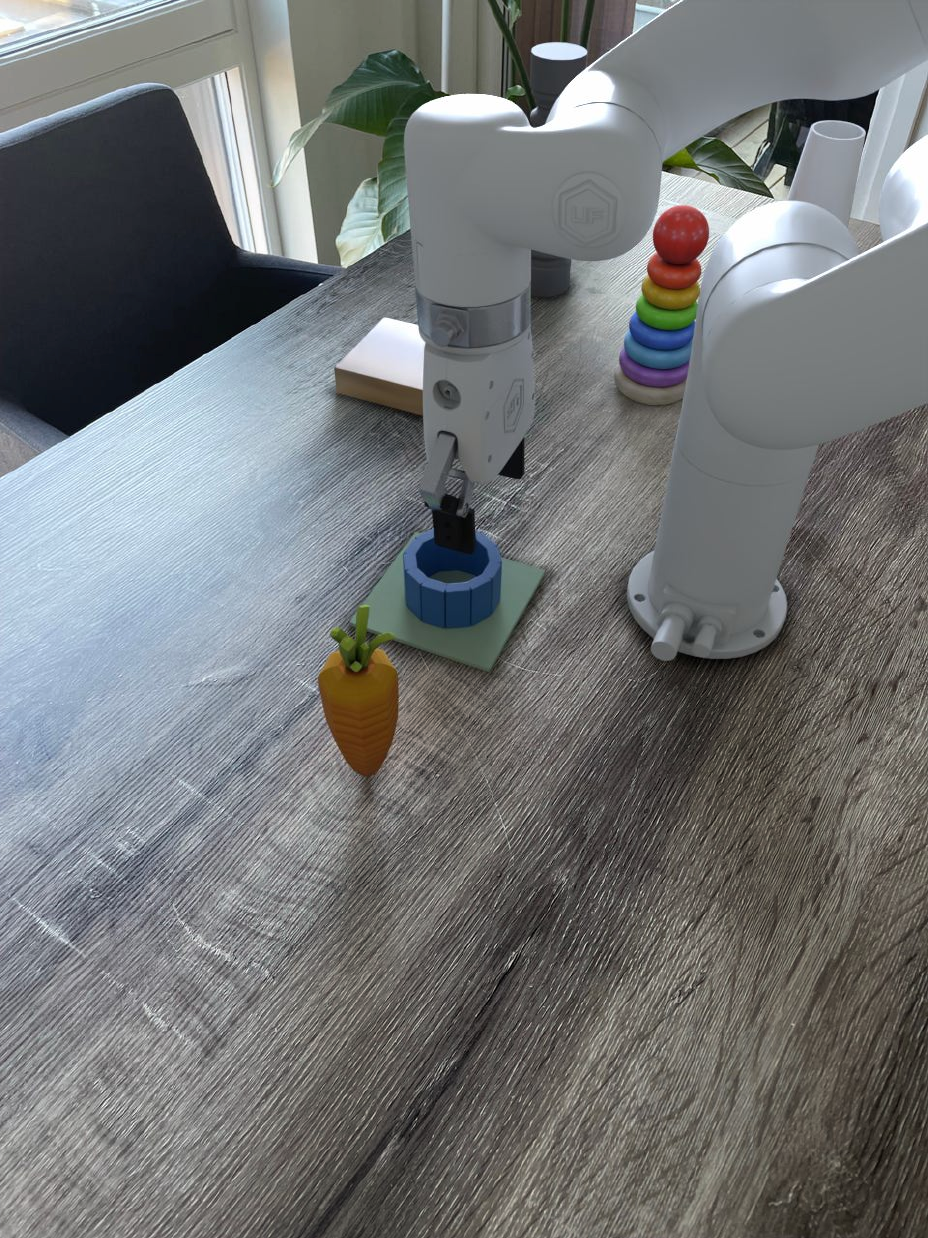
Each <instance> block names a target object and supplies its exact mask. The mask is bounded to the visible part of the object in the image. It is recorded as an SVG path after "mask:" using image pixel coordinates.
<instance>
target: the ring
mask: <svg viewBox="0 0 928 1238" xmlns="http://www.w3.org/2000/svg"><path fill="white" fill-rule="evenodd" d="M475 533H476V549H475V551H474V552H473V554H466V553H462V552H458V551H455V550H451V549H447V548H443V547H439V546H437V545H436V544H435V542H434V530H433V528H431V529H429V530H427V531H425V532H423V533H422V534H421V535H419V536H417V537H415V539H413V540H412V541H411V543H410V544H409V546H408V547H407V549H406V550H405V551H404V554H403V567H404V587H405V598H406V606H407V607H408V609H409V610H410V611H411V612H412V613H413V614H414V615H415V616H416V617H417V618H418V619H419V620H420V621H422V622H424V623H427V624H430V625H433V626H436V627H440V628H443V629H444V628H445V627H446V629H451V628H462V627H470V625H471V626H473V625H475V624H477V623H479V622H481V621H483V620H484V619H486V618H488V617H490V615H492V614H493V612H494V610H495V608H496V607H497V605H498V603H499V601H500V597H501V575H502V560H501V557H502V556H501V552H500V547H499V546H498V544H497V543H495V542H494V541H493V540H492V539H491V538H489V536H487V535H486V534H485V533H484V532H482V531H478V530H475ZM454 570H459V571H462V572H466V573H469V574H472V575H475V576H476V578H474V579H472V580H470V581H468V582H464V583H452V584H446V583H443V582H439V581H436V580H433V579H429V578H428V577H430V576H432V575H434V574H436V573H438V572H441V571H454Z"/></svg>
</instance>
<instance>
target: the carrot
mask: <svg viewBox="0 0 928 1238" xmlns="http://www.w3.org/2000/svg"><path fill="white" fill-rule="evenodd" d="M361 605H362V604H361ZM361 605H358V606H357V610H356V612H357V616H356V628H355V637H354V638H352V637H351V636H349V635H348V634H347V633H346V631H344V630H343V629H342V628H341V627H339V626H336V627H333V628H332V629H331V630H330V633H329V637H330V638H332V640H334V641H335V642H337V643H338V650H337V651H334V652H331V653H330V654H329V655H328V658H326V661H325V663H324V665H323V666H322V669H320V670H321V671H320V672H319V673H318V676H317V677H318V678H317V685H318V690H319V697H320V700H321V701H320V702H321V705H322V709H323V713H324V714H323V715H324V718H325V721H326V725H327V726H328V729H329V731H330V734H331V736H332V737H333V741H334V742H335V744H336V747H337V749H338V750H339V751H340V753H341V756H342V757H343V759H344V761H345V762H346V764H347V765H348V766H349V767H350V768H351V770H353V771H354V772H355V773H357V774H358V775H360V776H362V777H365V778H369V777H372V776H374V775H376V774H377V773H378V771H380V769H381V768H382V766H383V764H384V762H385V761H386V758H387V756H388V754H389V752H390V750H391V747H392V744H393V742H394V737H395V734H396V729H397V725H398V721H399V711H400V709H399V707H400V686H399V685H400V683H399V682H400V681H399V673H398V671H397V670H396V668H395V666H394V665H393V663H392V661H391V660H390V659H389V657H388V655H387V653H386V652H385V651H384V649H380V648H379V647H380V646H381V645H383V644H384V643H388V642H391V641H394V640H393V639H395V636H394V634H393V633H392V632H387V633H383V634H381V635H376V636H375V637H374V638H373V639H372V640H371V641H370V642H369V643H366V637H367V624H368V618H369V606H368V605H362V606H361ZM354 639H355V640H354Z"/></svg>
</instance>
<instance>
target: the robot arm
mask: <svg viewBox="0 0 928 1238" xmlns="http://www.w3.org/2000/svg"><path fill="white" fill-rule="evenodd" d="M926 61H928V0H679V1H678V2H676V3H675V4H673V5H672V6H670V7H669V8H667V9H666V10H664V11H662V12H661V13H660V14H658V15H657V16H656V17H655V18H653V19H652V20H650V21H649V22H647V23H646V24H644V25H643V26H641V28H639V29H637V30H636V31H635V32H634V33H632V34H630V36H628V37H627V38H625V39H624V40H622V41H621V42H620V43H618V44H617V45H616V46H615V47H613V48H612V49H610V50H609V51H607V52H606V53H604V54H603V55H602V56H601V57H599V58H598V59H597V60H596V61H594V62H592V63H591V64H590V65H589V66H588V67H586V69H585V70H584V71H583V72H581V73H580V74H579V75H578V76H577V77H576V78H575V79H574V80H573V81H572V82H571V83H570V84H569V85H568V86H567V87H566V88H565V89H564V91H563V92H562V93H561V94H560V96H559V97H558V98H557V100H556V101H555V103H554V105H553V107H552V109H551V111H550V114H549V116H548V118H547V121H546V123H545V125H544V126H541V127H538V128H535V127H533V126H532V125H531V124H530V120H529V119H528V117H527V115H526V113H525V112H524V111H523V109H522V108H521V107H520V106H518V105H517V104H515V102H513V101H512V100H508V99H507V98H503V97H499V96H495V95H489V94H480V93H479V94H478V93H466V94H464V93H463V94H454V95H449V96H444V97H443V96H442V97H440V98H436V99H433V100H430V101H429V102H426V103H424V104H422V105H421V106H419V107H418V108H417V109H416V110H415V111H414V112H413V113H412V114H411V115H410V117H409V118H408V120H407V122H406V124H405V129H404V134H403V153H404V164H405V165H404V166H405V179H406V190H407V202H408V203H407V204H408V217H409V229H410V241H411V252H412V253H411V254H412V263H413V275H414V276H413V277H414V291H415V301H416V313H417V325H418V329H419V334H420V336H421V338H422V339H423V340H424V342H426V344H425V347H424V364H423V416H422V420H423V421H422V422H423V423H422V424H423V438H424V439H423V441H424V450H425V458H426V460H427V465H426V467H425V469H424V472H423V474H422V477H421V479H420V482H419V485H418V493H419V494H420V496H421V498H422V500H423V501H424V502H423V503H424V506H425V507H426V508H428V509H429V510H431V517H432V529H433V530H434V542H435V544H436V545H437V546H439V547H443V548H447V549H451V550H455V551H458V552H462V553H466V554H473V552H474V551H475V549H476V533H475V531H476V513H475V511H476V509H474V508H471V503H472V498H473V494H474V488H475V485H476V484H479V485H481V486H485V485H488V484H489V483H491V482H493V480H495V479H496V478H497V476H501V477H505V478H509V479H514V480H521V479H522V478H523V476H524V475H525V471H526V470H525V465H526V464H525V458H526V457H525V455H526V453H525V451H526V450H525V445H526V443H525V441H526V440H525V436H526V435H527V433H528V431H529V430H530V428H531V426H532V424H533V421H534V418H535V414H536V394H535V393H536V391H535V368H534V365H535V364H534V350H533V349H534V348H533V337H532V330H531V324H532V323H531V322H532V321H531V319H532V318H531V309H532V308H531V305H532V304H531V303H532V302H531V299H532V298H531V297H532V295H531V250H535V251H539V252H543V253H546V254H550V255H554V256H558V257H563V258H568V259H571V260H574V261H580V262H583V261H584V262H601V261H609V260H612V259H616V258H618V257H621V256H623V255H624V254H626V253H628V252H630V251H631V250H633V249H634V248H635V247H636V246H637V245H639V244H640V242H641V241H643V239H644V238H645V237H646V236H647V234H648V232H649V231H650V229H651V228H652V225H653V223H654V220H655V217H656V215H657V212H658V207H659V200H660V195H661V185H662V175H663V174H662V173H663V163H664V162H665V161H667V160H668V159H670V158H671V157H673V156H675V155H676V154H677V153H679V152H680V151H682V150H683V149H684V148H687V146H689V145H691V144H692V143H694V142H696V141H697V140H699V139H700V138H703V137H704V136H705V135H707V134H708V133H710V132H711V131H713V130H715V129H717V128H718V127H720V126H722V125H723V124H726V123H727V122H729V121H732V119H733V120H734V119H735V118H737V117H739V116H740V115H744V114H745V113H748V112H750V111H752V110H755V109H757V108H760V107H763V106H766V105H769V104H773V103H777V102H780V101H785V100H786V101H787V100H795V99H796V100H798V99H804V100H805V99H808V100H820V101H844V100H853V99H858V98H862V97H866V96H869V95H871V94H874V93H875V92H877V91H879V90H881V89H882V88H885V87H886V86H888V85H889V84H891V83H892V82H894V81H896V80H897V79H899V78H901V77H902V76H903V75H905V74H907V73H908V72H910V71H912V70H913V69H915V68H917V67H918V66H920V65H921V64H923V63H925V62H926ZM878 216H879V218H878V219H879V221H878V223H879V230H880V235H881V240H882V242H881V243H880V244H878V245H876V246H874V247H872V248H870V249H868V250H866V251H864V252H862V253H861V251H860V249H859V246H858V244H857V242H856V240H855V239H854V237H853V235H852V233H851V232H850V230H849V228H848V229H847V228H846V227H845V225H844V224H843V223H842V222H841V221H840V220H839V219H838V218H836V217H835V216H834V215H833V214H831V213H830V212H828V211H827V210H825V209H823V208H821V207H819V206H817V205H814V204H810V203H807V202H801V201H786V200H781V201H774V202H771V203H766V204H764V205H762V206H761V205H760V207H757V208H755V209H753V210H751V211H749V212H747V213H746V214H745V215H743V216H742V217H740V218H739V219H738V220H737V221H735V222H734V223H733V224H732V225H731V226H730V227H729V228H728V229H727V230H726V231H725V232H724V233H723V234H722V236H721V237H720V238H719V240H718V241H717V243H716V245H715V247H714V248H713V250H712V251H711V254H710V256H709V259H708V260H707V263H706V265H705V269H704V271H703V275H702V279H701V283H700V294H699V297H698V299H697V303H698V306H697V314H696V319H695V329H694V336H693V343H692V349H691V356H690V363H689V369H688V375H687V381H686V387H685V393H684V397H683V398H682V405H681V409H680V415H679V420H678V425H677V426H678V427H677V430H676V435H675V438H674V444H673V450H672V456H671V460H670V466H669V469H668V470H669V471H668V477H667V480H666V486H665V491H664V492H665V493H664V497H663V502H662V507H661V513H660V518H659V522H658V529H657V534H656V539H655V545H654V549H653V550H652V551H650V552H648V553H647V554H646V555H644V557H642V558H641V559H640V560H639V561H638V562H637V563H636V564H635V566H634V567H633V569H632V570H631V573H630V575H629V578H628V583H627V587H626V590H627V591H626V600H627V604H628V605H627V606H628V609H629V611H630V613H631V615H632V617H633V618H634V621H635V622H636V623H637V624H638V625H639V626H640V628H641V629H642V630H643V631H644V632H645V633H646V634H648V635H649V636H650V637H651V638H652V639H653V641H652V643H651V645H650V652H651V654H652V655H653V656H654V657H655V658H656V659H658V660H661V661H663V662H664V661H665V662H670V661H672V660H674V659H675V658H676V656H677V654H678V652H679V653H681V654H685V655H688V656H692V657H697V658H701V659H702V658H703V659H711V660H720V659H721V660H729V659H735V658H741V657H742V658H743V657H745V656H749V655H751V654H754V653H757V652H759V651H760V650H763V649H764V648H766V647H768V645H770V644H771V643H772V642H773V641H774V640H776V638H777V637H778V636H779V634H780V632H781V631H782V629H783V626H784V624H785V621H786V618H787V612H788V600H787V595H786V592H785V590H784V588H783V585H782V584H781V583H780V581H779V580H778V575H779V572H780V569H781V566H782V563H783V560H784V557H785V554H786V550H787V547H788V543H789V539H790V537H791V535H792V531H793V527H794V525H795V521H796V519H797V515H798V512H799V509H800V505H801V503H802V499H803V496H804V493H805V490H806V486H807V483H808V480H809V477H810V474H811V471H812V467H813V465H814V463H815V459H816V456H817V453H818V450H819V447H820V445H822V444H825V443H829V442H832V441H835V440H838V439H842V438H844V437H847V436H850V435H852V434H854V433H857V432H860V431H862V430H864V429H865V430H866V429H867V428H870V427H872V426H875V425H877V424H880V423H882V422H885V421H887V420H890V419H892V418H895V417H897V416H900V415H902V414H904V413H907V412H910V411H912V410H915V409H917V408H921V407H922V406H925V405H927V404H928V134H927V135H925V136H923V137H922V138H921V139H919V140H918V141H916V142H915V143H913V144H912V145H911V146H909V148H907V149H906V150H905V151H904V152H903V153H902V154H901V155H900V156H899V157H898V159H897V160H896V161H895V163H894V164H893V165H892V167H891V168H890V169H889V171H888V172H887V175H886V177H885V179H884V182H883V185H882V187H881V191H880V195H879V201H878ZM455 460H459V462H460V464H461V467H462V469H463V470H462V469H458V468H454V467H452V466H453V464H454V461H455ZM448 477H450V478H454V479H459V480H462V483H461V487H460V491H459V496H458V497H456V496H454V495H452V494H448V493H447V488H446V483H447V479H448Z"/></svg>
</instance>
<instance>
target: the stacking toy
mask: <svg viewBox="0 0 928 1238" xmlns="http://www.w3.org/2000/svg"><path fill="white" fill-rule="evenodd" d="M709 239H710V226H709V223H708V220H707V218H706V216H705V215H704V214H703V213H702V212H701V210H700V209H698V208H696V207H694V206H691V205H687V204H681V205H680V204H679V205H675V206H672V207H670V208H668V209H666V210H665V211H664V212H662V213H661V214H660V216H659V217H657V220H656V221H655V223H654V226H653V230H652V244H653V247H654V250H655V252H656V253H654V254H653V255H652V256H651V257H650V258H649V260H648V261H647V264H646V272H647V273H646V274H647V275H646V276H645V277H644V278H643V280H642V283H641V289H640V290H641V294H640V295H639V297H638V298H637V300H636V303H635V311H634V313H632V315H631V317H630V319H629V321H628V330H627V331H626V333H625V334H624V338H623V347H622V348H621V350H620V353H619V356H618V364H617V366H616V367H615V370H614V374H613V380H614V383H615V386H616V388H617V389H618V391H619V392H620V393H621V394H622V395H624V396H625V397H627V398H628V399H630V400H631V401H635V402H637V403H641V404H644V405H649V406H650V405H651V406H664V405H669V404H673V403H676V402H679V401H680V400H683V398H684V393H685V387H686V381H687V375H688V369H689V363H690V356H691V349H692V343H693V336H694V329H695V322H696V314H697V306H698V299H699V294H700V288H701V285H700V284H699V282H698V281H699V280H700V277H701V276H702V265H701V263H700V261H699V260H698V259H697V258H698V257H700V256H701V255H702V254H703V252H704V251H705V249H706V247H707V245H708V242H709Z"/></svg>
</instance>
